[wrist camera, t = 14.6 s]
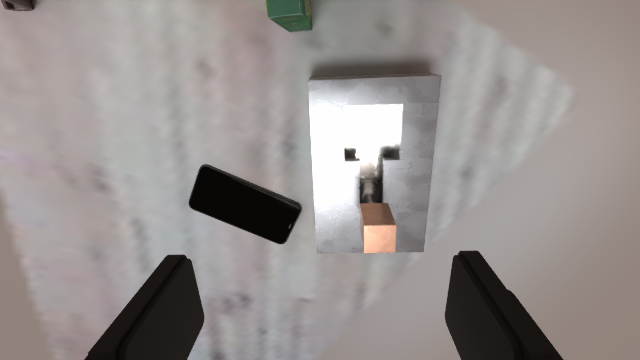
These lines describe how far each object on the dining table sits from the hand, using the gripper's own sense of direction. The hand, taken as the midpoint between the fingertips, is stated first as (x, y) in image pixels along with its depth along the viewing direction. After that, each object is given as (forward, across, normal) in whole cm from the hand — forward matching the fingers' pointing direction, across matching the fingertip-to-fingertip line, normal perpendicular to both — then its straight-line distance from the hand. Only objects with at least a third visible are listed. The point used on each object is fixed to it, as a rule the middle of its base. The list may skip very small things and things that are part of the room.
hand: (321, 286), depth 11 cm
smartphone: (+31, +12, +12) cm, 35 cm away
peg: (+29, -5, +10) cm, 31 cm away
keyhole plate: (+30, -5, +6) cm, 31 cm away
